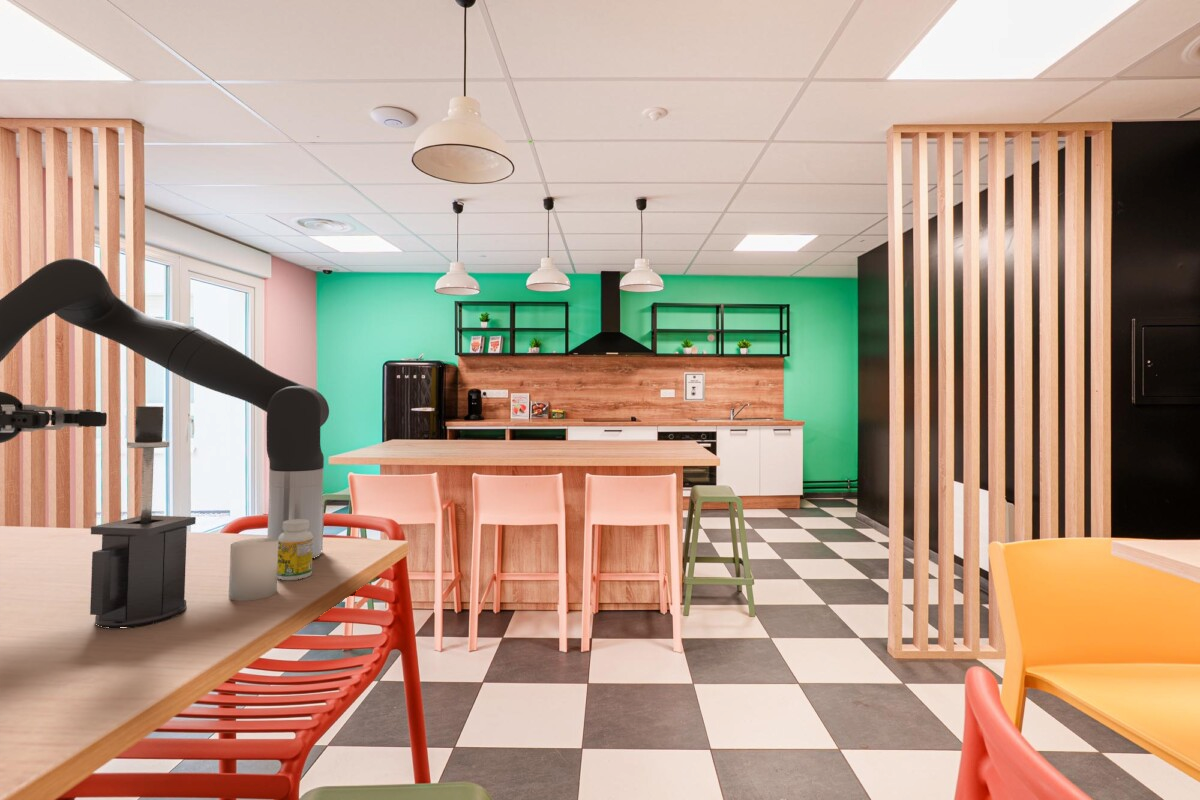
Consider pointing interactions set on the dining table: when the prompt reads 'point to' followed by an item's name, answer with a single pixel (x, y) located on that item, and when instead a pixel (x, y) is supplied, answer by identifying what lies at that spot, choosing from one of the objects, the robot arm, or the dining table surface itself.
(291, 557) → the supplement bottle
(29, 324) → the robot arm
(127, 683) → the dining table surface
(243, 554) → the white rounded cylinder
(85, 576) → the dining table surface
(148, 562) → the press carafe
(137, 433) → the plunger
